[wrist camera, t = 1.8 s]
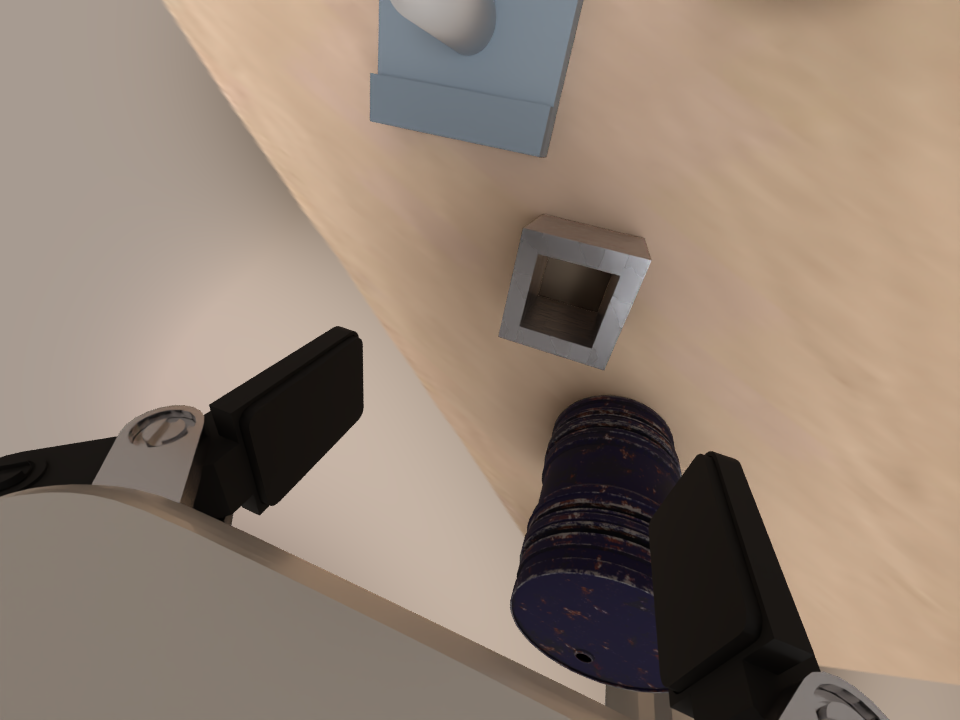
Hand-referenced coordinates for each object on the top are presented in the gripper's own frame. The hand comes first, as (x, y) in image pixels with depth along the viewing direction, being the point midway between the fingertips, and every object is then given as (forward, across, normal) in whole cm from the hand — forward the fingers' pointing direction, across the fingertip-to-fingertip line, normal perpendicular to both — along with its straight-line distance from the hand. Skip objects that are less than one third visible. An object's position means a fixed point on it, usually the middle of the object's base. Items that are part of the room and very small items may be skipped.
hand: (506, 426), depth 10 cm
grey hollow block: (+18, 0, +1) cm, 18 cm away
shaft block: (+18, +9, -11) cm, 23 cm away
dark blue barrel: (+18, -8, +14) cm, 24 cm away
